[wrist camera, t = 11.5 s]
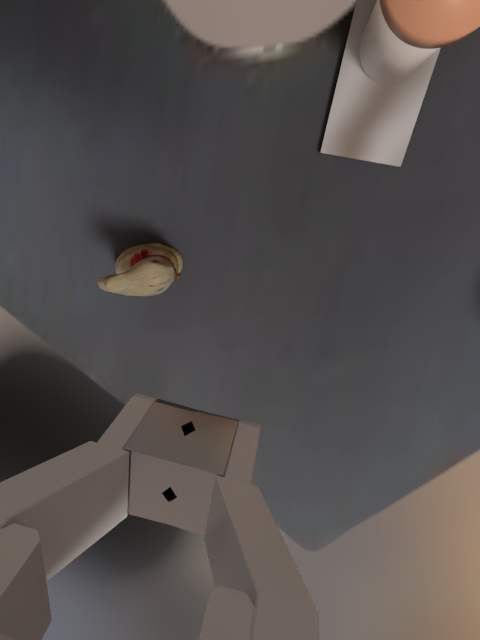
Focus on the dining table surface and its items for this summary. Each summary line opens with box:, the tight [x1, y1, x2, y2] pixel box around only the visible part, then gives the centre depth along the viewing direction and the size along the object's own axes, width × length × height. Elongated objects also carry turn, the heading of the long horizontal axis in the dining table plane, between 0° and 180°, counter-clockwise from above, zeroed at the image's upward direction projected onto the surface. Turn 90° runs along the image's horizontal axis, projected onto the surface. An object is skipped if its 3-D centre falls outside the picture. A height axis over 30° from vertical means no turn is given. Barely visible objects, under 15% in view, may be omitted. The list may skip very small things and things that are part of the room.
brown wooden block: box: [320, 0, 440, 167], centre depth 23 cm, size 16×19×8 cm
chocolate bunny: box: [98, 243, 183, 297], centre depth 34 cm, size 6×8×10 cm
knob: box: [359, 0, 480, 84], centre depth 21 cm, size 6×6×12 cm
